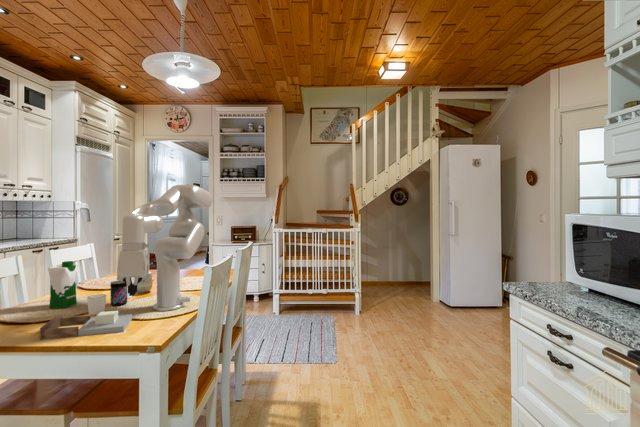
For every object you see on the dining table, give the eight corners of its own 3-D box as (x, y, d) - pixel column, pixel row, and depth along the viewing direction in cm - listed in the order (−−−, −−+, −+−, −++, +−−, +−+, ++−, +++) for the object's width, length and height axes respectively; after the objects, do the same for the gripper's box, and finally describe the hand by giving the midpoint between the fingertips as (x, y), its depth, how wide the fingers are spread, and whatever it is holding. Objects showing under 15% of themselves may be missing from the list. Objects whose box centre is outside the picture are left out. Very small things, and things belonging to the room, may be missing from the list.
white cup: (110, 310, 144) (110, 294, 144) (98, 315, 138) (98, 298, 137) (95, 309, 145) (95, 293, 145) (82, 314, 138) (82, 298, 138)
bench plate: (132, 318, 134) (132, 314, 134) (123, 331, 121) (123, 326, 121) (91, 322, 130) (91, 317, 130) (78, 335, 116) (78, 330, 116)
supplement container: (107, 306, 149) (107, 283, 149) (115, 302, 156) (115, 280, 156) (122, 306, 150) (122, 283, 149) (130, 302, 156) (130, 280, 156)
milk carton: (65, 309, 145) (64, 263, 144) (45, 308, 145) (44, 263, 145) (80, 303, 154) (80, 260, 153) (61, 302, 154) (61, 259, 153)
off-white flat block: (118, 318, 129) (118, 310, 129) (113, 323, 123) (113, 315, 123) (100, 319, 127) (100, 311, 127) (95, 325, 121) (95, 317, 121)
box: (90, 322, 130) (90, 312, 129) (77, 336, 116) (77, 324, 116) (58, 325, 126) (58, 314, 126) (40, 339, 113) (40, 327, 113)
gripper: (156, 246, 133) (155, 291, 133) (113, 246, 128) (112, 293, 128) (153, 248, 126) (152, 296, 126) (108, 248, 121) (107, 298, 121)
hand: (132, 295), depth 127 cm, fingers closed
